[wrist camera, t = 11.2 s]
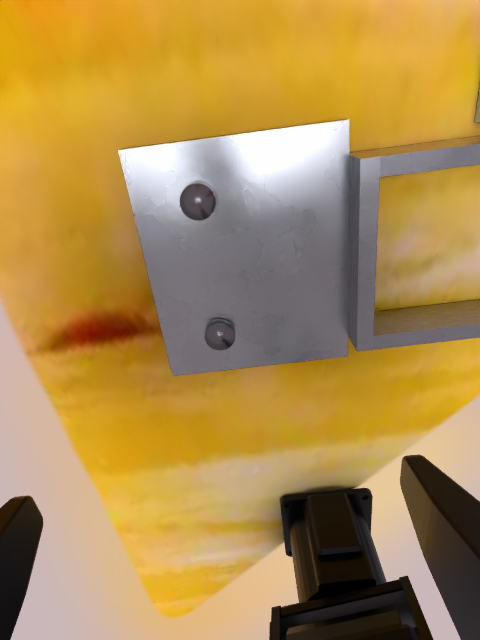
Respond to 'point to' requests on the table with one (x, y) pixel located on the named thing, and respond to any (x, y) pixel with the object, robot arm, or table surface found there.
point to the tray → (478, 109)
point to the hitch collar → (277, 245)
